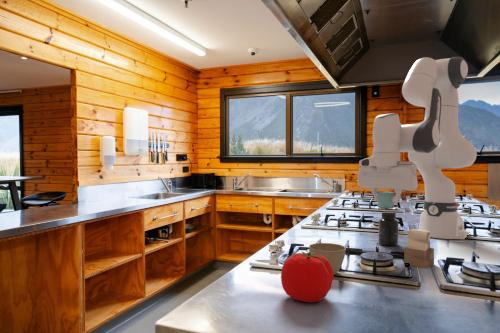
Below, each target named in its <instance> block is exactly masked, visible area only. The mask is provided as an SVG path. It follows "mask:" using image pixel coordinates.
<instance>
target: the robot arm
mask: <svg viewBox="0 0 500 333" xmlns="http://www.w3.org/2000/svg"><path fill="white" fill-rule="evenodd" d="M468 71H469V66H468V63H467V61H466V59H464V58H463V57H462V56H452V57H450V58H440V59H433V58H432V57H427V56H426V57H422V58H419V59H417V60H416V61H415V62H414V63H413V65H412V66H411V68H410V69H409V70H408V72H407V75H406V76H405V79H404V81H403V84H402V88H401V94H402V97H403V98H404V100H405V101H406V102H408V103H409V104H411V105H413V106H414V107H420V108H421V107H422V108H425V110H424V119H423V120H422V121H420V122H418V123H410V124H402V123H401V122H400V116H399V114H398V113H394V112H393V113H392V112H391V113H385V114H384V113H383V114H379V115H377V116H375V117H374V120H373V126H372V144H373V147H372V148H373V149H372V153H371V154H372V155H371V156H369V157H366V158H363V159H360V160H359V162H358V166H359V168H358V170H357V179H356V180H357V185H358V188H368V189H370V192H371V194H372V195H373V202H376V203H378V192H379V189H381V190H382V189H383V190H394V198H391V200H392V201H391V203H394V204H399V198H400V196H401V194H402V193H403V192H402V191H412V192H413V191H416V190H417V189H418V186H419V185H418V183H419V182H418V176H417V174H418V172H419V173H420V174H421V177H422V180H423V184H424V201H423V212H421V213H420V217H419V218H420V219H419V220H420V221H419V228H417V229H416V230H425V231H430V238H435V239H442V240H443V239H445V240H466V239H467V238H466V236H467V235H468V234H469V233H470V234H471V232H470V231H469V230H465V221H464V219H463V218H462V216H461V215H460V214H459V213H458V208H459V207H460V202H457V201H456V184H455V182H454V181H453V180H452V179H450V178H449V177H447V176H445V175H444V173H442V169H462V168H468V167H471V166H472V165H473V164H474V163H475V161H476V160H477V154H478V153H477V148H476V147H475V146H474V144H473V143H471V142H470V141H468V140H467V139H466V138H465V137H464V136H463V135H462V133H461V131H460V128H459V107H460V106H459V104H460V103H459V102H460V100H459V92H458V89H459V88H460V87H461V85H462V84H463V83H464V82H465V81H466V79H467V78H468V73H469V72H468ZM401 153H408V154H407V158H408V161H401ZM465 238H466V239H465Z"/></svg>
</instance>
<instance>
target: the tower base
mask: <svg viewBox="0 0 500 333" xmlns="http://www.w3.org/2000/svg"><path fill="white" fill-rule="evenodd" d="M403 251H404V252H403V254H404V255H403V256H404V257H403V260H404V261H403V262H404V265H406V264H405V263H409V264H410V265H409V266H413V267H417V268H421V269H426V268H429V267H432V266H434V265H435V248H433V247H430V248H429V249H428V250H426V251H423V250H416V249H410V248H407V246H405V247H404V250H403ZM433 264H434V265H433Z"/></svg>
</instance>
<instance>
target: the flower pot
mask: <svg viewBox="0 0 500 333" xmlns="http://www.w3.org/2000/svg"><path fill="white" fill-rule="evenodd" d="M308 250H309V251H308V252H309V253H311V254H315V255H316V254H317V255H320V256H323V257H325V258H326V259H327V260H328V261H329V263H330V265H331V267H332V269H333V276H334V275H337V273H338V272H339V271H340V269H341V267H342V265H343V263H344V259H345V256H346V251H347V248H346V246H345V245H343V244H342V245H341V244H337V243H329V242H317V243H311V244H310V245H308Z"/></svg>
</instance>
